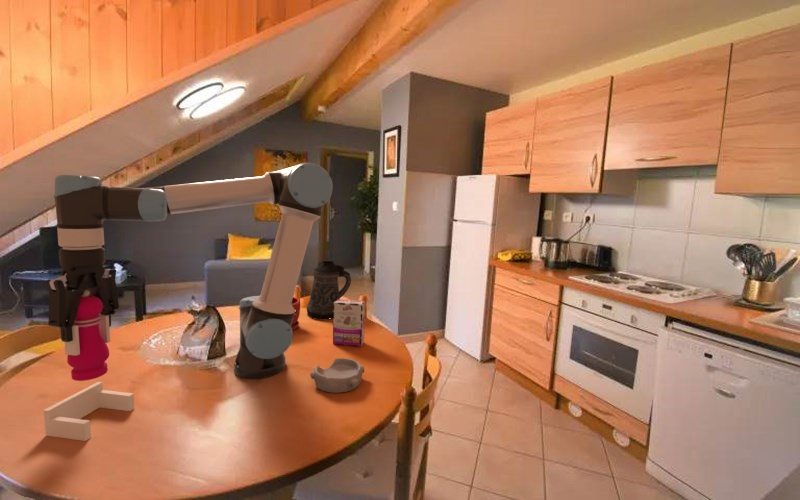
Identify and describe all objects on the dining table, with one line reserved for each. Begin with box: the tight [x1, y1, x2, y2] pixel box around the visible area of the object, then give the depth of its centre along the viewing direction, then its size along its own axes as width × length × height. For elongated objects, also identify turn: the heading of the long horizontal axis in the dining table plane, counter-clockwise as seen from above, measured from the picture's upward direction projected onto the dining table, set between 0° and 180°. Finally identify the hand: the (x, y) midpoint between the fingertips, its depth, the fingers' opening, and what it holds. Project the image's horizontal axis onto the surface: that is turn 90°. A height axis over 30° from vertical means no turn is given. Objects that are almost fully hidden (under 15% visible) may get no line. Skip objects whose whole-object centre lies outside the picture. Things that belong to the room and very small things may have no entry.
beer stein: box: [305, 260, 352, 320], centre depth 168 cm, size 16×19×25 cm
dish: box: [309, 357, 365, 394], centre depth 106 cm, size 14×14×5 cm
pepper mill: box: [66, 289, 110, 382], centre depth 81 cm, size 7×7×20 cm
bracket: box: [43, 381, 135, 442], centre depth 83 cm, size 10×12×6 cm
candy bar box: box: [332, 299, 366, 348], centre depth 135 cm, size 11×5×16 cm, turn 83°
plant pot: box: [291, 296, 301, 331], centre depth 147 cm, size 13×13×12 cm
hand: (88, 347), depth 81 cm, fingers closed on pepper mill, 6 cm apart
